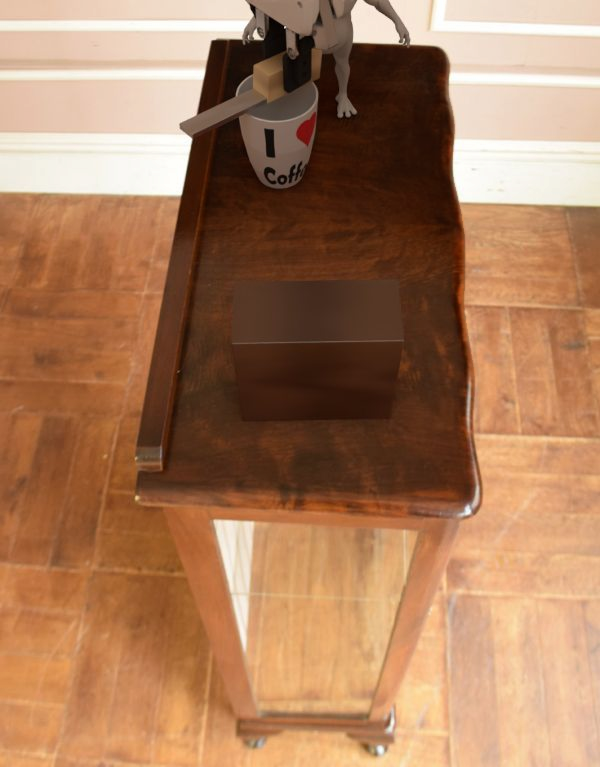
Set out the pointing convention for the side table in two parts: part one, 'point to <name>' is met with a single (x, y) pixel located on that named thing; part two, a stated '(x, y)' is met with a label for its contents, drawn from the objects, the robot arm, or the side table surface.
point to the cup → (280, 135)
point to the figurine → (346, 45)
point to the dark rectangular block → (317, 348)
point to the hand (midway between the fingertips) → (287, 77)
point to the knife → (249, 95)
